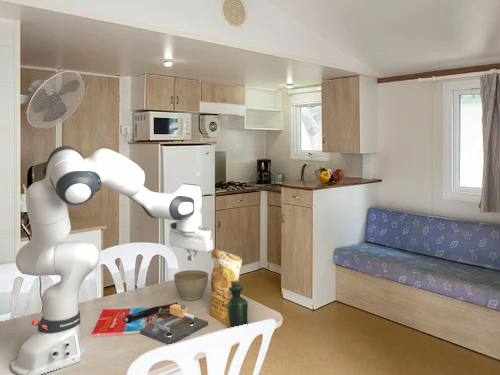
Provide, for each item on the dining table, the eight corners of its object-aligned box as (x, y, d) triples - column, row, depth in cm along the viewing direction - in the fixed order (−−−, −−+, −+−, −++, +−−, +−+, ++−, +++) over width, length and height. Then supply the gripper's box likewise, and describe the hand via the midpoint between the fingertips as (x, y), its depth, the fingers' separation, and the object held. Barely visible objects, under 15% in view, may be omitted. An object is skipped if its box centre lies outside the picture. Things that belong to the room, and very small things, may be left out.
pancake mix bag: (216, 308, 182) (217, 246, 179) (243, 323, 167) (243, 256, 164) (203, 312, 178) (203, 248, 175) (229, 328, 163) (230, 258, 160)
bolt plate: (169, 345, 148) (169, 329, 147) (140, 333, 157) (139, 318, 156) (208, 325, 165) (208, 310, 164) (179, 315, 174) (179, 302, 174)
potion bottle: (252, 326, 162) (248, 279, 165) (245, 330, 155) (242, 281, 158) (232, 327, 164) (229, 281, 168) (225, 330, 157) (222, 282, 160)
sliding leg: (191, 323, 162) (191, 310, 161) (169, 316, 169) (169, 303, 168) (196, 321, 164) (196, 308, 164) (175, 313, 171) (175, 301, 171)
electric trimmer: (160, 314, 177) (160, 307, 176) (127, 324, 166) (127, 317, 165) (155, 311, 179) (155, 304, 179) (123, 321, 168) (123, 314, 168)
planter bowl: (215, 297, 196) (215, 275, 195) (186, 306, 185) (186, 282, 184) (195, 288, 207) (195, 267, 206) (167, 296, 196) (167, 274, 195)
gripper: (216, 227, 155) (216, 263, 157) (178, 221, 167) (178, 254, 169) (205, 229, 150) (205, 266, 152) (166, 223, 162) (166, 257, 163)
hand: (191, 260), depth 160 cm, fingers closed
